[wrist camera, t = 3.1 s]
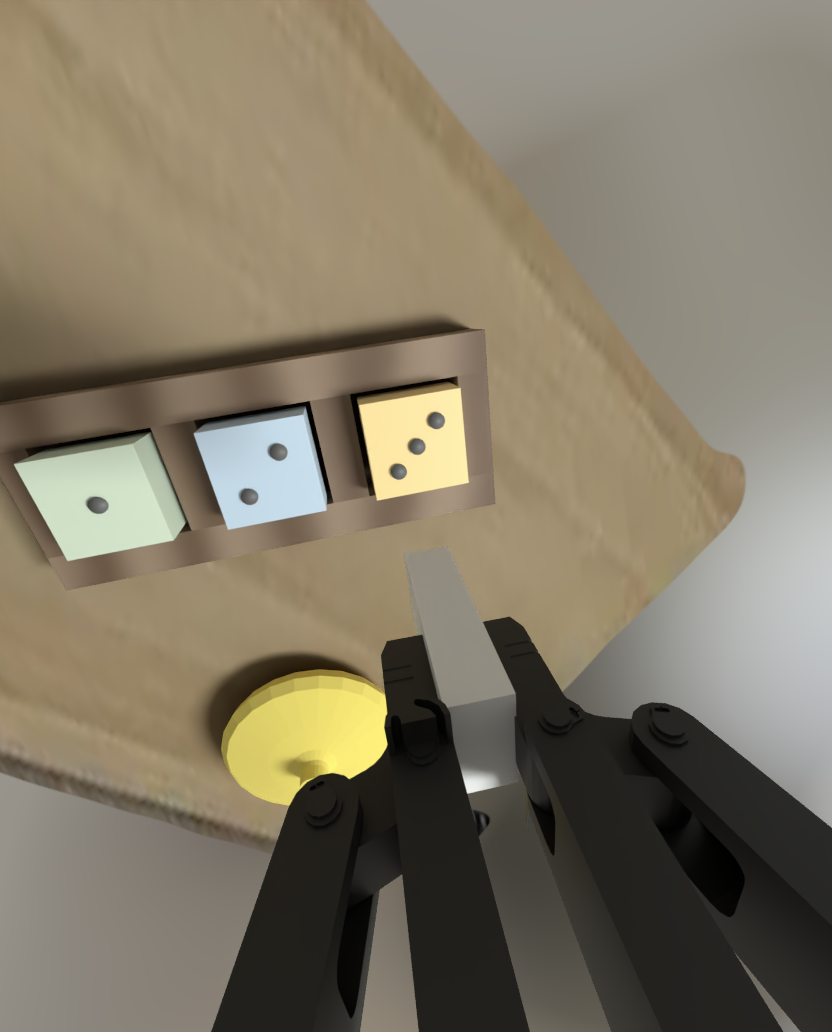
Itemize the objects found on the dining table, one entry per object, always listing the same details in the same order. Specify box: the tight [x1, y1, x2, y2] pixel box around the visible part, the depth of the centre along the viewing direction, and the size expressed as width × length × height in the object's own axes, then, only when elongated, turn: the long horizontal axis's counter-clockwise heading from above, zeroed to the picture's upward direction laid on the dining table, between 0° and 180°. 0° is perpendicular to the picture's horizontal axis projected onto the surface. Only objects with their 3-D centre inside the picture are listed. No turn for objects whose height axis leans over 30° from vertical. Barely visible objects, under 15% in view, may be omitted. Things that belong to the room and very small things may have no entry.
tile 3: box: [356, 382, 469, 501], centre depth 29 cm, size 6×6×3 cm
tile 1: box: [14, 432, 188, 561], centre depth 27 cm, size 6×6×3 cm
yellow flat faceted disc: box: [221, 669, 387, 805], centre depth 39 cm, size 16×16×7 cm
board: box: [0, 329, 495, 590], centre depth 30 cm, size 30×12×3 cm, turn 98°
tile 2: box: [194, 406, 327, 530], centre depth 28 cm, size 6×6×3 cm
